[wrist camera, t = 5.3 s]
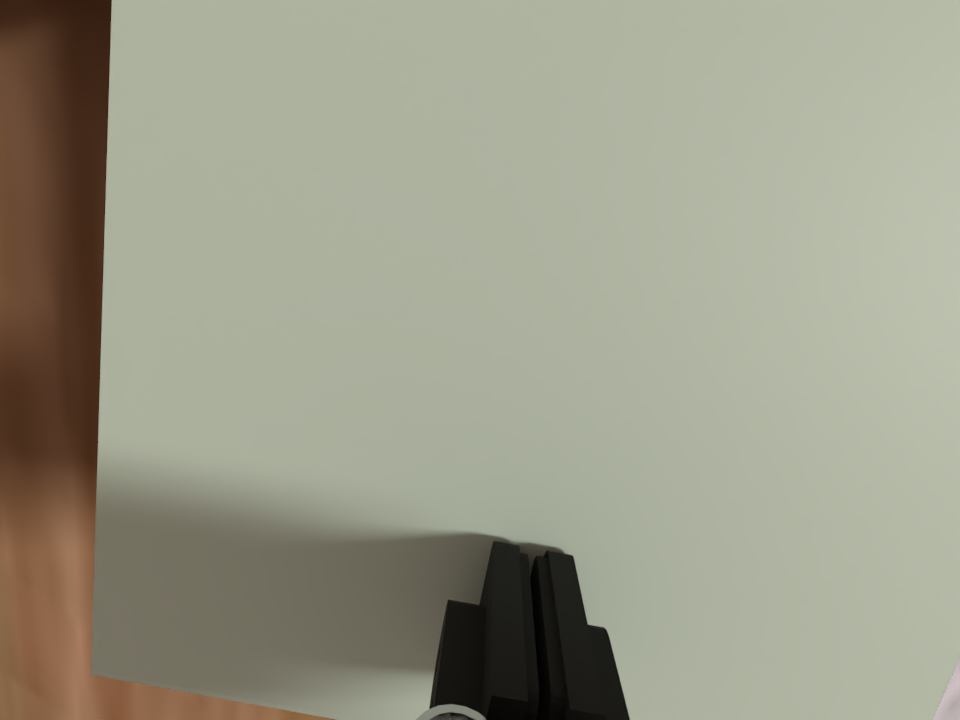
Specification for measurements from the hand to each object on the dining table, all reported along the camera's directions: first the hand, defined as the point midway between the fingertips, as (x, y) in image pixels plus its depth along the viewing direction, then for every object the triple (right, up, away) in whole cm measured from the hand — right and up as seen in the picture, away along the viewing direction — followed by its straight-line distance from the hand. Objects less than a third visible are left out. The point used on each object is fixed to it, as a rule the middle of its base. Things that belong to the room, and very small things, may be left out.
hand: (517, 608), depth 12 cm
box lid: (+1, +4, 0) cm, 4 cm away
